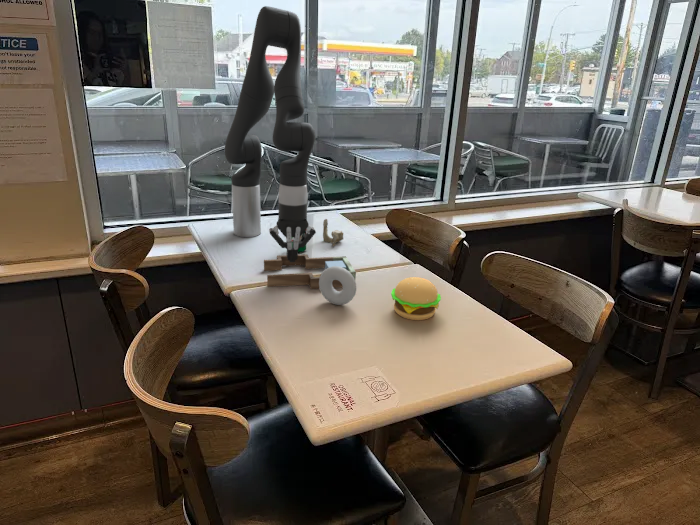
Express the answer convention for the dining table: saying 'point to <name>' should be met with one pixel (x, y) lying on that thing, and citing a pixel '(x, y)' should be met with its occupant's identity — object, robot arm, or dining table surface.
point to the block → (334, 264)
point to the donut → (345, 280)
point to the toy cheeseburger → (415, 298)
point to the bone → (335, 234)
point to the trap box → (302, 277)
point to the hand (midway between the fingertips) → (292, 261)
